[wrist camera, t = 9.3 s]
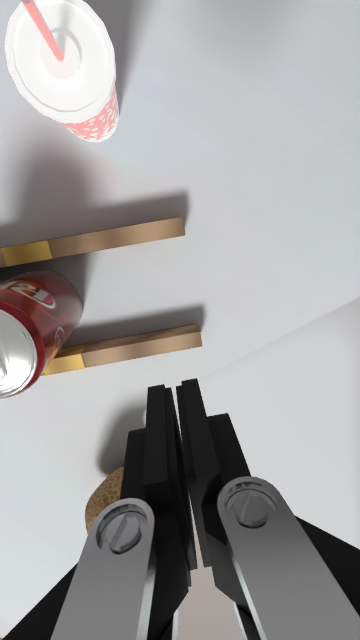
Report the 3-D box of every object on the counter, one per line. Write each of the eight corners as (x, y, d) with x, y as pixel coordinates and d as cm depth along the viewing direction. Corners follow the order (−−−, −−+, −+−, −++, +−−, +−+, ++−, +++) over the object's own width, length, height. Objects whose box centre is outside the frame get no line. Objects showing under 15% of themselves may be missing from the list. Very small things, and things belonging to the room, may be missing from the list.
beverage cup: (56, 59, 24) (-59, -131, 11) (132, 79, 25) (108, -78, 12) (52, 143, 26) (-52, 65, 13) (123, 159, 27) (93, 100, 14)
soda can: (-4, 280, 29) (-104, 317, 18) (67, 259, 29) (12, 284, 18) (27, 345, 32) (-44, 415, 20) (93, 327, 32) (59, 387, 20)
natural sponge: (182, 470, 38) (191, 551, 29) (136, 512, 40) (131, 602, 31) (126, 432, 36) (116, 507, 27) (80, 479, 38) (55, 565, 28)
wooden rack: (180, 217, 29) (185, 216, 24) (199, 337, 33) (206, 357, 28) (-29, 253, 28) (-66, 259, 24) (16, 371, 33) (-8, 396, 28)
